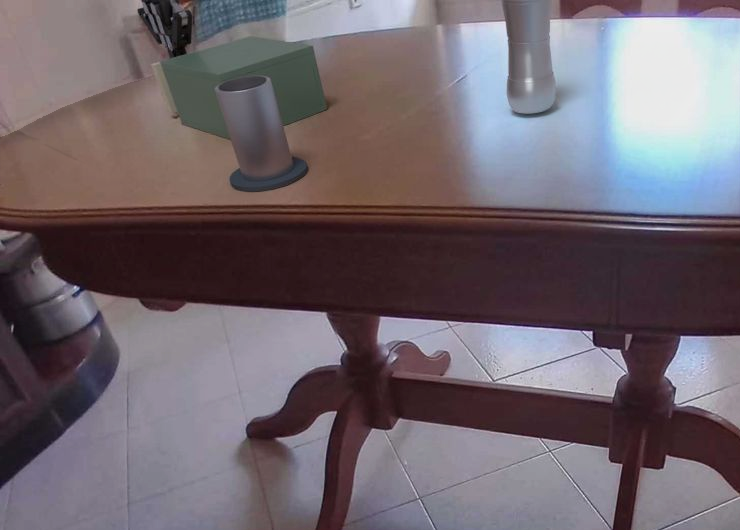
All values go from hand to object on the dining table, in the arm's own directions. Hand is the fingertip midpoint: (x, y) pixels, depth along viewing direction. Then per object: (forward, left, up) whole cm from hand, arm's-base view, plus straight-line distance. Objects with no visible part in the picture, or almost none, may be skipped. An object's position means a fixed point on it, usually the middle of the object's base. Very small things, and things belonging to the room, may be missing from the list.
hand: (184, 73), depth 110 cm
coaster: (-12, -40, -4) cm, 42 cm away
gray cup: (-12, -40, -4) cm, 42 cm away
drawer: (0, -11, -3) cm, 11 cm away
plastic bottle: (+20, -54, -4) cm, 58 cm away
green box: (0, -18, -4) cm, 19 cm away
